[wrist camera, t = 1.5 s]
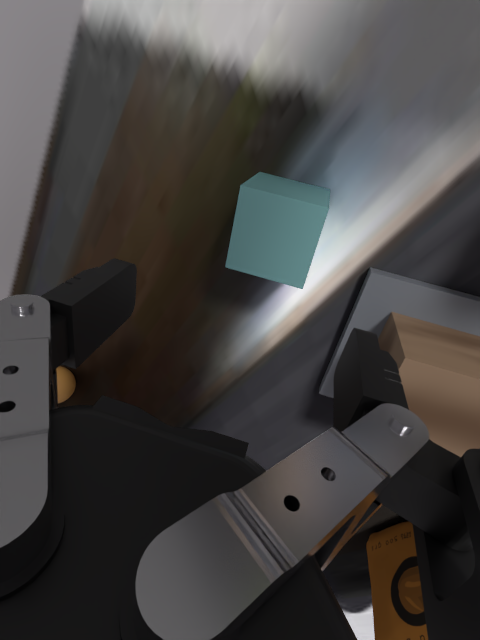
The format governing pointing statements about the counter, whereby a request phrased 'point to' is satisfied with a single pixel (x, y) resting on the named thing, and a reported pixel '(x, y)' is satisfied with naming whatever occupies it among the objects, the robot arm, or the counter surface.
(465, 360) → the walnut block
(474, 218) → the counter surface
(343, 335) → the slate pad
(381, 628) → the coffee package
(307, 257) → the teal block
